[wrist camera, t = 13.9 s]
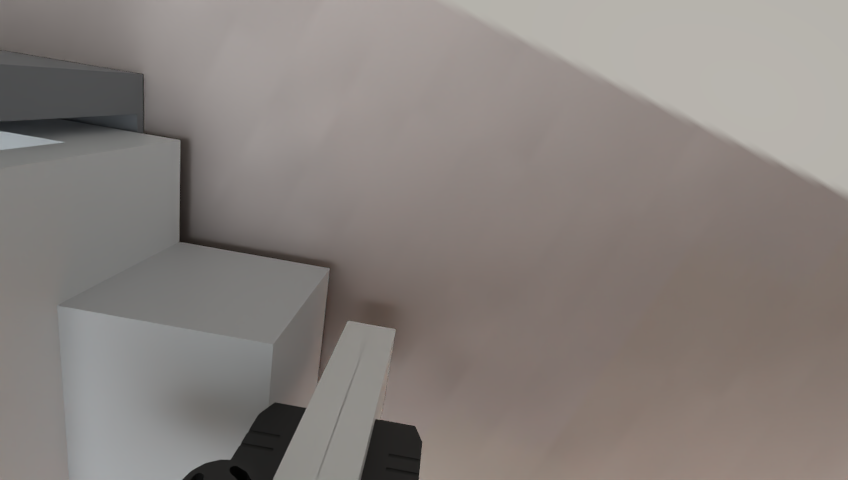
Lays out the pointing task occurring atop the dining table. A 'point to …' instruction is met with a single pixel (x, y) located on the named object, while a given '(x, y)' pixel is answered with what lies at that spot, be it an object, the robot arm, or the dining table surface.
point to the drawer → (133, 315)
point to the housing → (69, 92)
